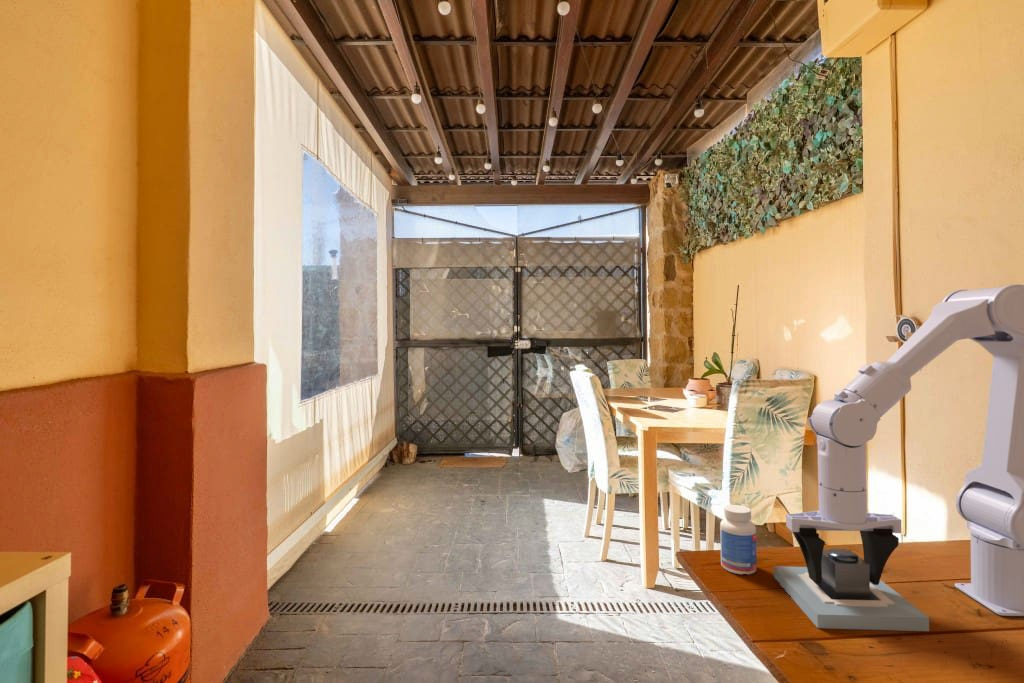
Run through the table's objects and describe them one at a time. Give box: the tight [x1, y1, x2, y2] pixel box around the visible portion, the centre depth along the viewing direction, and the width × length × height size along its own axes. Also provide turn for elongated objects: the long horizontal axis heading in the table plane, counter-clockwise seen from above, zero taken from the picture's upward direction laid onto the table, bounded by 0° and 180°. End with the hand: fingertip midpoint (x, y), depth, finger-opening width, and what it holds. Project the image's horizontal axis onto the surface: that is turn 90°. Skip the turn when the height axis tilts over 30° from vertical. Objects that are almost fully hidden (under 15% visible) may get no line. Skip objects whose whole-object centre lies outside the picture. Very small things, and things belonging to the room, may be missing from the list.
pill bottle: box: [719, 504, 758, 575], centre depth 83 cm, size 6×5×10 cm
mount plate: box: [773, 565, 930, 632], centre depth 72 cm, size 14×14×2 cm
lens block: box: [819, 548, 870, 600], centre depth 72 cm, size 4×4×7 cm
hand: (843, 580), depth 72 cm, fingers open, 7 cm apart
